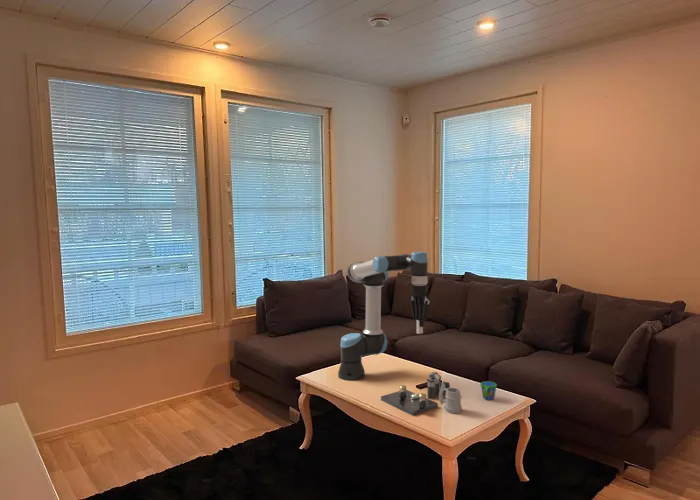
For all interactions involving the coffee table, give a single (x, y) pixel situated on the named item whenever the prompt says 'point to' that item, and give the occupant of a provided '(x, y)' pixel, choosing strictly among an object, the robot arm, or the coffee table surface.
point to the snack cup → (488, 390)
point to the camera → (435, 385)
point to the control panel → (408, 402)
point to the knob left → (402, 392)
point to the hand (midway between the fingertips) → (419, 333)
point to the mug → (450, 399)
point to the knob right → (422, 400)
